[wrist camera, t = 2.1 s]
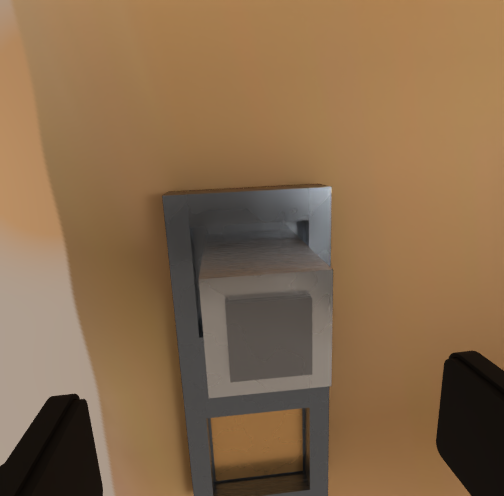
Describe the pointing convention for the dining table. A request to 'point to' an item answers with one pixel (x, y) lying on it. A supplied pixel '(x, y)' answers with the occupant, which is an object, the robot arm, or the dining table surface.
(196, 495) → the rail
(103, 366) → the dining table surface
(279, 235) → the block
